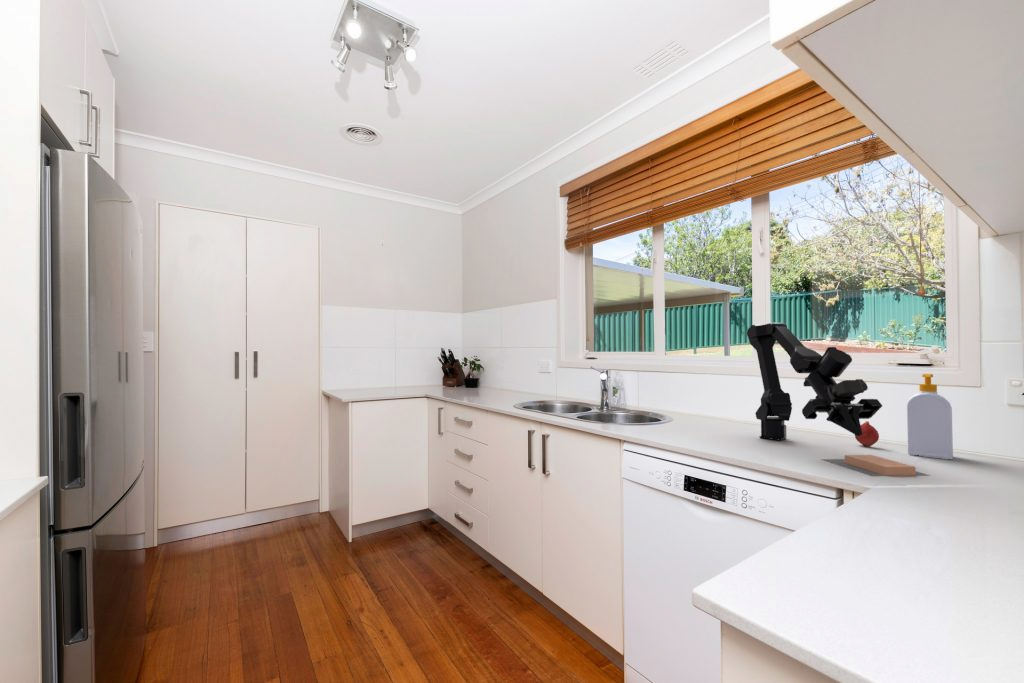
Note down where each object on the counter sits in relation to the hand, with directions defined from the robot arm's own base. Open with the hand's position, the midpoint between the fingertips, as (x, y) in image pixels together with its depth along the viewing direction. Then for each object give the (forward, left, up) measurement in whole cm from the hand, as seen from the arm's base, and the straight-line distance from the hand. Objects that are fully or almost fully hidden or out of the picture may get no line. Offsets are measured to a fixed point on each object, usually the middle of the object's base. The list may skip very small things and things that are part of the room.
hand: (859, 434), depth 113 cm
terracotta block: (-1, +1, -6) cm, 6 cm away
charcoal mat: (+3, -2, -8) cm, 8 cm away
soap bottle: (+11, +28, -8) cm, 31 cm away
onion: (-3, +29, -8) cm, 30 cm away
